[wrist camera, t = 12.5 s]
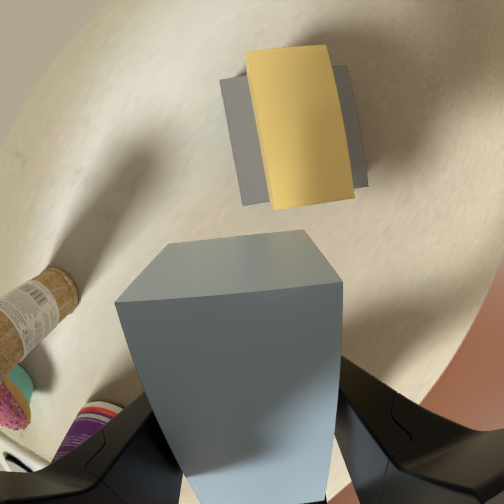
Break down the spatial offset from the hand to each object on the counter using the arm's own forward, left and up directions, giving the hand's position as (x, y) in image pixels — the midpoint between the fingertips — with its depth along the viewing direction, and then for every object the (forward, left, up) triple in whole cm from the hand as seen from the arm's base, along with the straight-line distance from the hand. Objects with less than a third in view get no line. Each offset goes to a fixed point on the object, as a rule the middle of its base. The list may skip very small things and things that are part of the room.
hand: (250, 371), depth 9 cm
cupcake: (-10, +30, -14) cm, 34 cm away
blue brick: (0, 0, -1) cm, 1 cm away
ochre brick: (+8, -4, -11) cm, 14 cm away
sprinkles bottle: (0, +17, -14) cm, 22 cm away
